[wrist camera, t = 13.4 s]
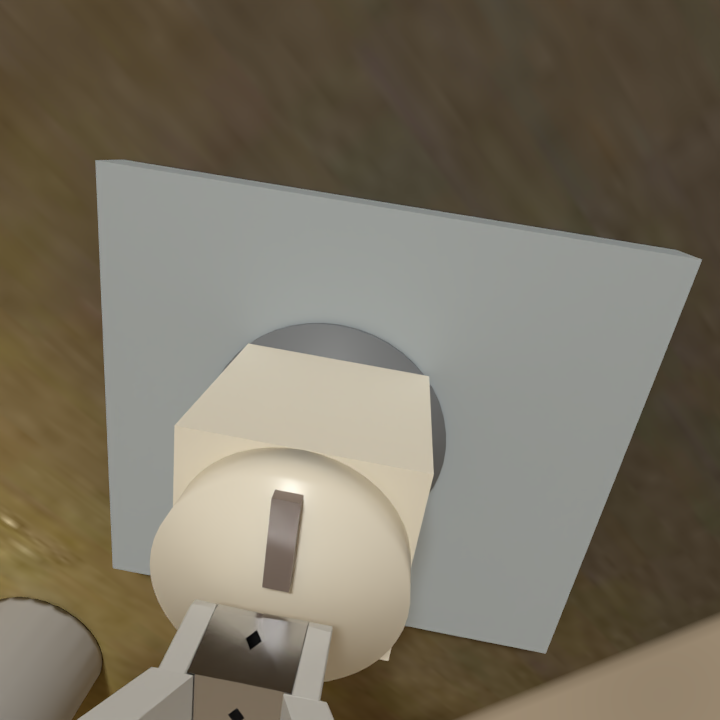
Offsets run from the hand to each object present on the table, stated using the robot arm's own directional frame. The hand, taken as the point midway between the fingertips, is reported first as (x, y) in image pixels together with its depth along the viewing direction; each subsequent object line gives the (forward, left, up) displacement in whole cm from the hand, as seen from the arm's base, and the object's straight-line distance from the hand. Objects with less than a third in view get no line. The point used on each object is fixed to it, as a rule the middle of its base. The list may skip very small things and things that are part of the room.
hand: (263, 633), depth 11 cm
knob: (0, 0, -8) cm, 8 cm away
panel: (-1, 0, -10) cm, 10 cm away
